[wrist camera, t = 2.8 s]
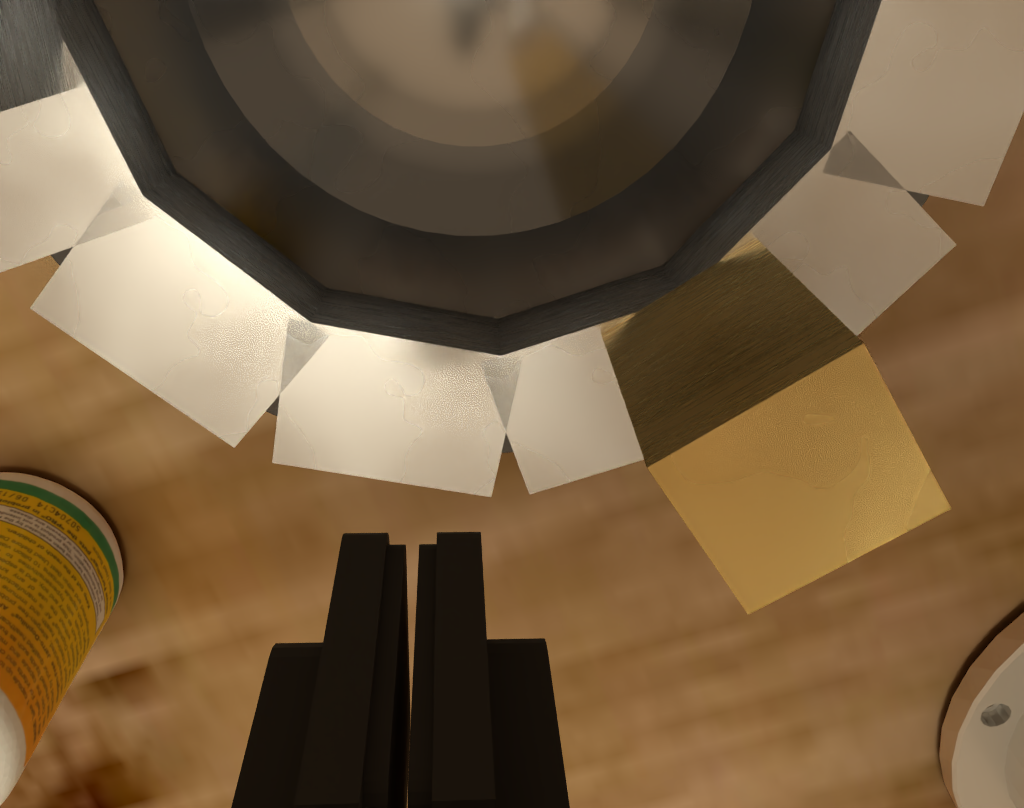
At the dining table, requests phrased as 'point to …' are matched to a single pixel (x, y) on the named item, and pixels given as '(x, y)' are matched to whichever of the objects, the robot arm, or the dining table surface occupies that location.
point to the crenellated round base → (560, 323)
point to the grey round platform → (470, 130)
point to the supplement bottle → (47, 605)
